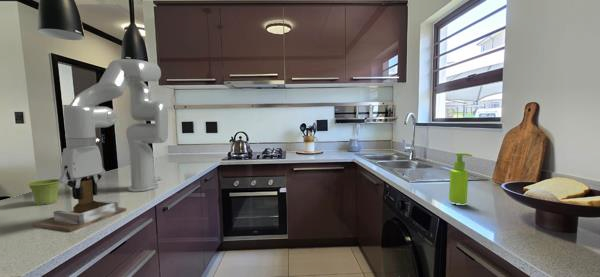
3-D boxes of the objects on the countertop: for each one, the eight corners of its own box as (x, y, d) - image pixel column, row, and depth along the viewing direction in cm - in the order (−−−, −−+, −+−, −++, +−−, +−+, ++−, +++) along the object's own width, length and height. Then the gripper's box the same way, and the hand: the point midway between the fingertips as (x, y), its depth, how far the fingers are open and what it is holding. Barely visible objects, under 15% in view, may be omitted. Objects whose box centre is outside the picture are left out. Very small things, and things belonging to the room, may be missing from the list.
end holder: (93, 206, 96) (93, 196, 96) (126, 210, 92) (125, 200, 92) (33, 226, 79) (32, 213, 79) (70, 231, 75) (69, 218, 75)
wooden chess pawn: (84, 216, 81) (80, 161, 80) (68, 214, 83) (64, 160, 81) (103, 208, 88) (100, 158, 86) (89, 207, 89) (85, 157, 88)
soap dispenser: (470, 207, 94) (473, 154, 93) (449, 204, 98) (451, 153, 96) (469, 202, 99) (471, 153, 98) (448, 200, 103) (450, 151, 101)
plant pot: (68, 199, 106) (67, 179, 105) (44, 207, 97) (42, 185, 96) (49, 198, 107) (47, 178, 106) (22, 206, 97) (20, 184, 97)
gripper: (99, 140, 92) (102, 189, 94) (42, 145, 76) (47, 204, 78) (114, 141, 91) (117, 190, 92) (60, 146, 74) (65, 206, 76)
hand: (85, 196), depth 85 cm, fingers closed on wooden chess pawn, 3 cm apart
